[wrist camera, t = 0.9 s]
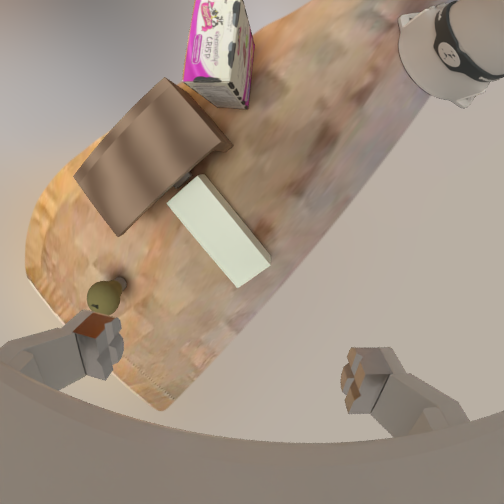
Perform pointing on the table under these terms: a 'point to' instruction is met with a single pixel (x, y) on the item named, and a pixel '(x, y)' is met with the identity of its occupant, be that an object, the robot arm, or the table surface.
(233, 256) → the mint green beam
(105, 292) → the light bulb
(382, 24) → the table surface
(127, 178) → the walnut shelf
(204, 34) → the candy bar box
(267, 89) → the table surface
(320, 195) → the table surface
